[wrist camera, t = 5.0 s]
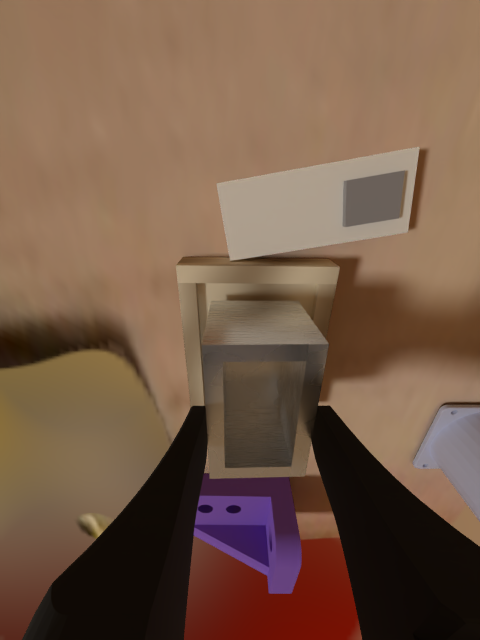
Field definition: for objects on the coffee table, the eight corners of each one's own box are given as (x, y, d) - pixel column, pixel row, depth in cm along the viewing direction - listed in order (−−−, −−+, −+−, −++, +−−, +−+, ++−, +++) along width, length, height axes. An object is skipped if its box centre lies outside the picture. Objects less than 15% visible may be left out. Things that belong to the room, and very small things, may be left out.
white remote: (218, 184, 14) (215, 183, 12) (400, 151, 14) (425, 145, 12) (230, 254, 16) (229, 262, 14) (392, 228, 15) (412, 233, 14)
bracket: (287, 472, 26) (303, 558, 20) (279, 508, 29) (291, 593, 23) (170, 469, 25) (149, 557, 19) (175, 507, 29) (158, 593, 22)
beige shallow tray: (328, 258, 16) (340, 267, 14) (303, 402, 21) (309, 421, 19) (183, 257, 16) (176, 265, 14) (195, 402, 21) (192, 421, 19)
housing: (298, 300, 14) (328, 344, 10) (286, 407, 18) (304, 476, 13) (211, 300, 14) (201, 344, 10) (215, 408, 18) (209, 478, 13)
